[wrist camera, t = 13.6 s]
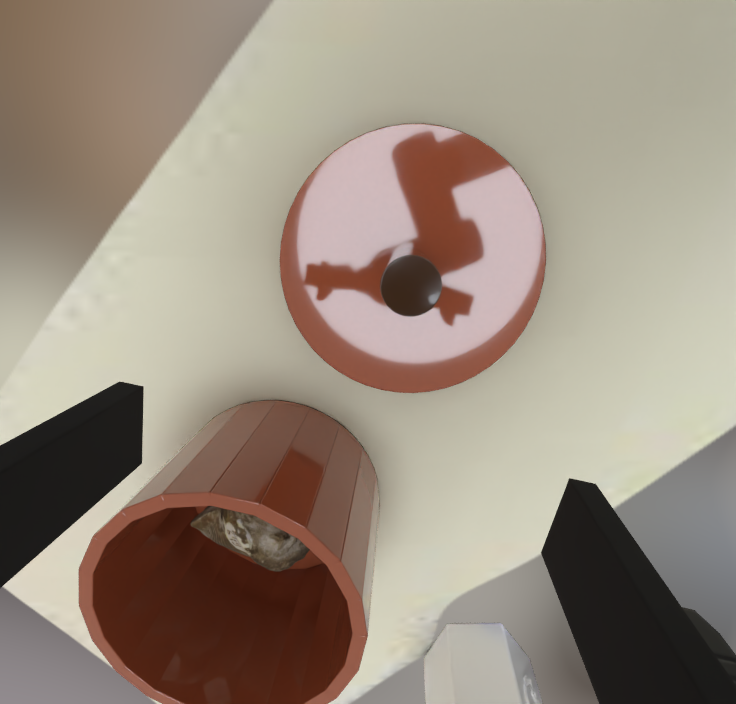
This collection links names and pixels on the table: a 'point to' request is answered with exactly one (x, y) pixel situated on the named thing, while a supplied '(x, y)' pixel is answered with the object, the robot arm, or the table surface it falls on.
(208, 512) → the fossilized seashell
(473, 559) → the table surface
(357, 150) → the lid
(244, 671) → the pot
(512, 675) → the jar
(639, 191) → the table surface
